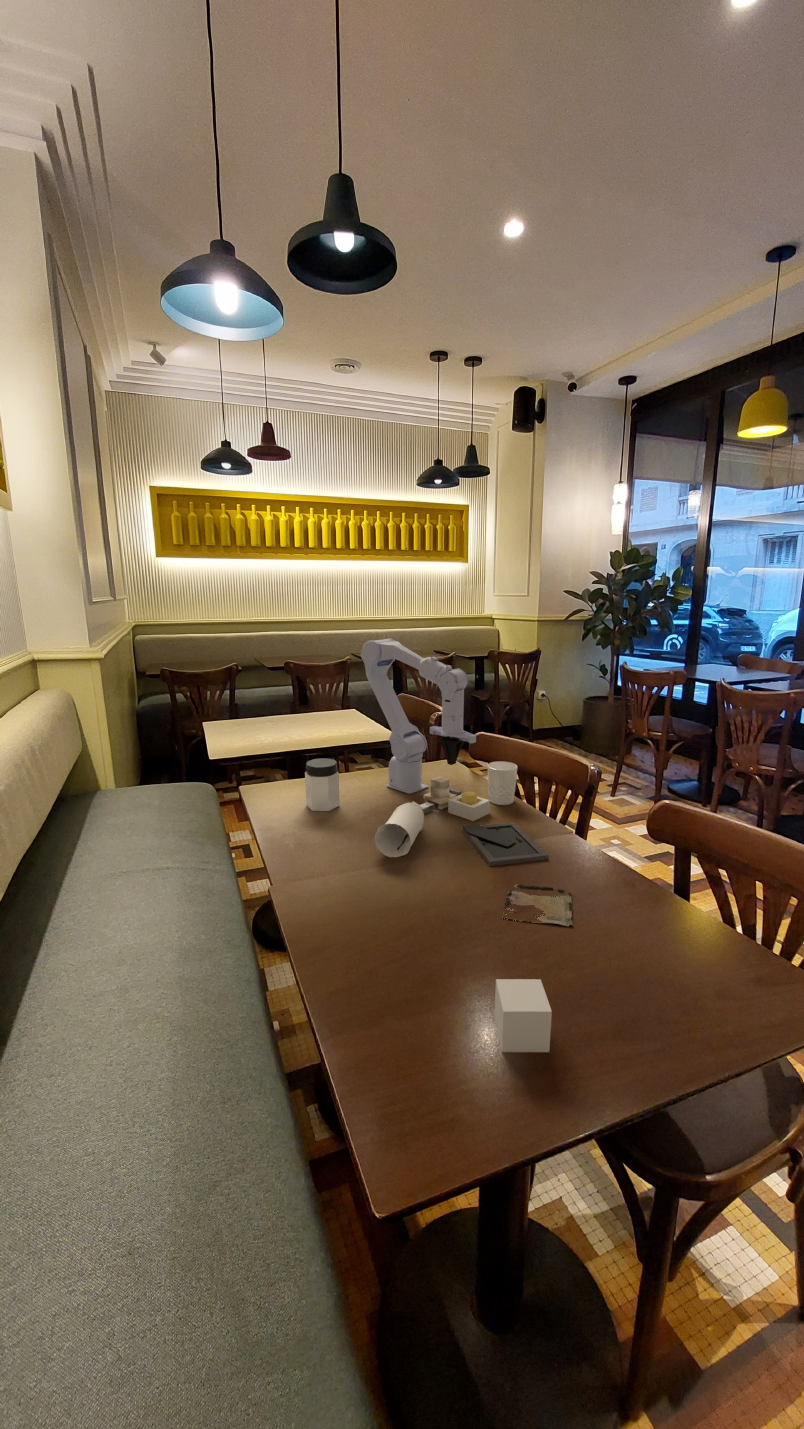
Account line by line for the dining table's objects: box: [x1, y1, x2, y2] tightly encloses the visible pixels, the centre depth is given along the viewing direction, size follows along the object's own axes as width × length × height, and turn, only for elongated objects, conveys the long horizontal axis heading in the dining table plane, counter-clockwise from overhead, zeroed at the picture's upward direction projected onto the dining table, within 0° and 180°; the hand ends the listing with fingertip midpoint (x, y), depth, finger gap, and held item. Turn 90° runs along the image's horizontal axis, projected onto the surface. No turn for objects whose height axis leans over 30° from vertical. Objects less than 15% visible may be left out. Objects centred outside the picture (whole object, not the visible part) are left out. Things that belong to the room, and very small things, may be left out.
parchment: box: [502, 883, 574, 927], centre depth 106 cm, size 12×13×1 cm
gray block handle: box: [419, 787, 463, 815], centre depth 151 cm, size 4×20×2 cm, turn 136°
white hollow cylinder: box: [373, 800, 425, 858], centre depth 132 cm, size 8×19×8 cm, turn 163°
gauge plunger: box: [461, 791, 478, 805], centre depth 148 cm, size 4×4×4 cm
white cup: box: [487, 761, 518, 806], centre depth 156 cm, size 8×8×10 cm
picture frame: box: [461, 821, 550, 867], centre depth 130 cm, size 13×2×18 cm
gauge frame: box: [447, 795, 491, 822], centre depth 148 cm, size 8×7×4 cm
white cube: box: [494, 978, 553, 1053], centre depth 75 cm, size 6×6×6 cm
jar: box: [304, 757, 341, 812], centre depth 152 cm, size 9×8×12 cm
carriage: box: [422, 776, 456, 811], centre depth 153 cm, size 6×6×7 cm
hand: (451, 763), depth 157 cm, fingers closed
